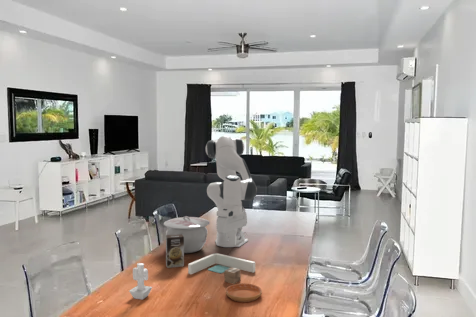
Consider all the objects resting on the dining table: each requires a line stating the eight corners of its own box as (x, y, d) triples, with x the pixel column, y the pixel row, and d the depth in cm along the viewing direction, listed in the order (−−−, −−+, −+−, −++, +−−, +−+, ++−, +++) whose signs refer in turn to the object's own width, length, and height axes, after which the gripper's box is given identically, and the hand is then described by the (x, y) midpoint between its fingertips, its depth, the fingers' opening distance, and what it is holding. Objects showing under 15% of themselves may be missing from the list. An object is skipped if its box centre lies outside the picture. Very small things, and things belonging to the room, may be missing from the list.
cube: (231, 278, 204) (231, 266, 204) (240, 280, 201) (240, 269, 201) (224, 281, 200) (224, 270, 199) (233, 284, 197) (233, 272, 196)
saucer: (241, 286, 195) (241, 280, 195) (269, 295, 185) (269, 288, 185) (218, 297, 183) (218, 290, 182) (246, 307, 172) (246, 300, 172)
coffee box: (167, 268, 218) (166, 238, 217) (165, 264, 224) (165, 234, 223) (184, 266, 221) (184, 236, 219) (182, 262, 227) (182, 233, 225)
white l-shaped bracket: (215, 261, 228) (215, 252, 228) (255, 271, 213) (255, 262, 213) (188, 273, 210) (188, 263, 210) (229, 285, 195) (229, 274, 195)
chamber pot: (202, 258, 233) (202, 222, 231) (156, 255, 238) (155, 220, 237) (215, 244, 260) (215, 211, 258) (173, 241, 266) (173, 209, 264)
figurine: (153, 293, 186) (153, 261, 184) (142, 302, 177) (141, 268, 175) (139, 291, 188) (139, 259, 187) (127, 300, 179) (126, 266, 178)
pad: (217, 265, 223) (217, 264, 223) (231, 268, 218) (231, 267, 218) (207, 269, 215) (207, 269, 215) (221, 273, 210) (221, 273, 210)
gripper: (239, 205, 208) (239, 233, 209) (214, 212, 191) (214, 242, 192) (250, 207, 204) (250, 234, 205) (225, 214, 188) (225, 244, 189)
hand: (232, 238), depth 199 cm, fingers open, 8 cm apart
